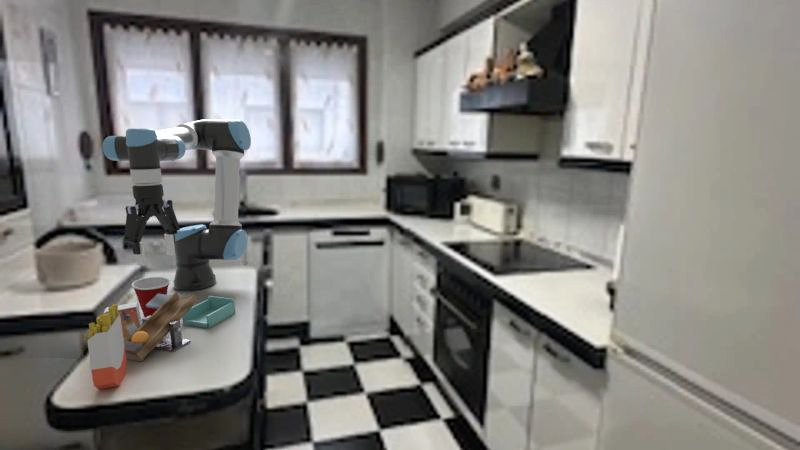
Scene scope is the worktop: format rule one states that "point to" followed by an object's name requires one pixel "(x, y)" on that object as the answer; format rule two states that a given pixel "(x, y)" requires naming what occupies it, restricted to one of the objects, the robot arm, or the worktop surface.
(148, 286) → the plastic cup
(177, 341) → the stand
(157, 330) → the lever
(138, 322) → the small box
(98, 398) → the worktop surface
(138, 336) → the ball
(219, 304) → the tray
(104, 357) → the french fries container
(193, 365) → the worktop surface
